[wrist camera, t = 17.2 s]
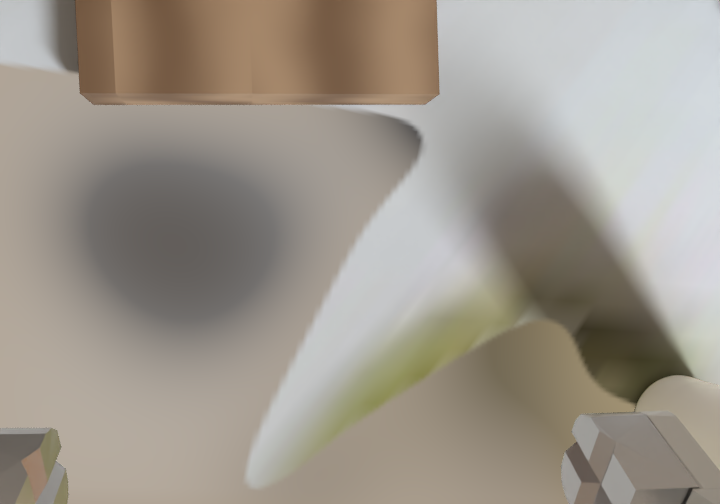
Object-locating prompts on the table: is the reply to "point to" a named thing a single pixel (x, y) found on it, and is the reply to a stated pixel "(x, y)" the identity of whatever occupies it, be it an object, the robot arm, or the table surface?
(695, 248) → the table surface
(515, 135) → the table surface
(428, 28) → the pin board
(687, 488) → the robot arm
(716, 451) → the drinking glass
